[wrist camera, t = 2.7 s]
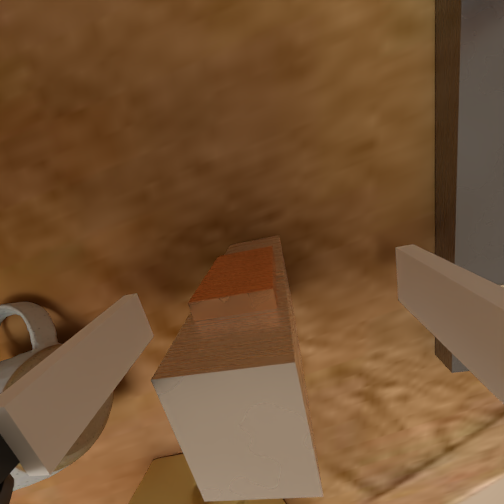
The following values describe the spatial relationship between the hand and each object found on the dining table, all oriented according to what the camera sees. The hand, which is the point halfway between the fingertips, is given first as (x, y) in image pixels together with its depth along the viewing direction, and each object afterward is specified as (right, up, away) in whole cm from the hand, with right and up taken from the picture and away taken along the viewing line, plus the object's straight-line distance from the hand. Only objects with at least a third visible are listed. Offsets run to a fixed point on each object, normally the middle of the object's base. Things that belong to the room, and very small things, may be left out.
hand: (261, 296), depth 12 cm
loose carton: (0, +1, +3) cm, 3 cm away
